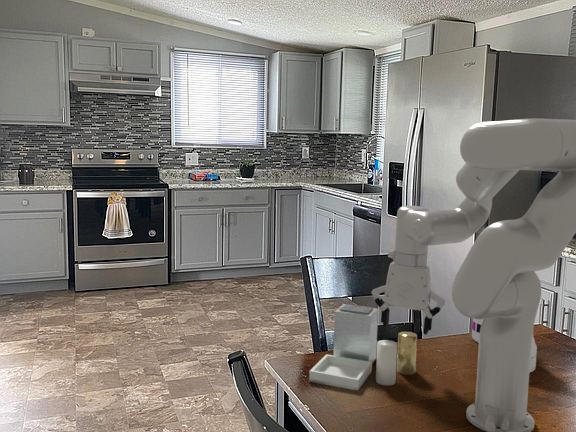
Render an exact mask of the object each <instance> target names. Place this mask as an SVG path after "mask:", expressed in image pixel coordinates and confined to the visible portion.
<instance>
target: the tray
mask: <svg viewBox="0 0 576 432" xmlns="http://www.w3.org/2000/svg"><path fill="white" fill-rule="evenodd" d="M372 369H373V363H372V362H369V361H363V360H357V359H351V358H345V357H340V356H334V355H332V354H327V353H326V354H325V355H324V356H323V357H321V359H320V360H319V361H318V362H317V363H316V364H315V365H314V366H313V367H312V368H311V369H310V370H309V373H308V374H309V375H308V377H309V378H308V380H309V381H308V382H309V383H315V384H320V385H324V386H325V385H326V386H330V387H335V388H340V389H347V390H351V391H357V392H358V391H359V390H360V389H361V388H362V386H363V385H364V383H365V382H366V381H367V379H368V378H369V376H370V375H371V373H372V372H373V371H372Z"/></svg>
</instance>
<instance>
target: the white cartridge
mask: <svg viewBox="0 0 576 432" xmlns="http://www.w3.org/2000/svg"><path fill="white" fill-rule="evenodd" d="M397 352H398V342H396V341H394V340H389V339H382V340H377V349H376V370H375V382H376V383H378V385H381V386H394V385H395V384H396V379H397V378H396V377H397Z"/></svg>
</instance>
